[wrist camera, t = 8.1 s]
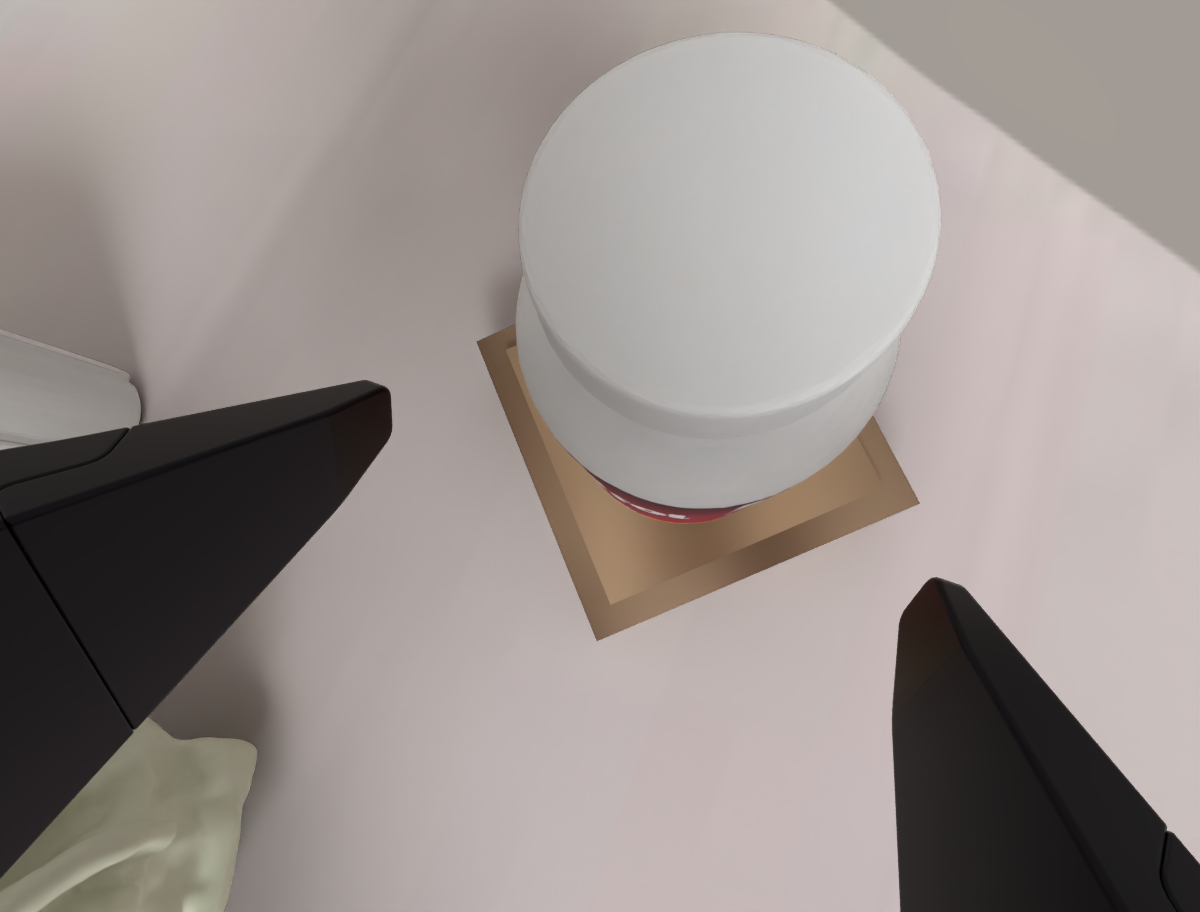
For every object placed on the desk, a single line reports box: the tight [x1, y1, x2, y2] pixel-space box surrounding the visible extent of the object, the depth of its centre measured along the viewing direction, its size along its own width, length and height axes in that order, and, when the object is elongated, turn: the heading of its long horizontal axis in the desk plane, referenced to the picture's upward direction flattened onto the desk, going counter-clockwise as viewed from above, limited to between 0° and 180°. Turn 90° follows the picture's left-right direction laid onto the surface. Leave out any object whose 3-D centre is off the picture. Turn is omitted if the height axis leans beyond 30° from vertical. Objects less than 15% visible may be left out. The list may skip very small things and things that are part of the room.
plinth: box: [477, 324, 920, 641], centre depth 19 cm, size 10×10×3 cm
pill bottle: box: [516, 32, 941, 524], centre depth 12 cm, size 6×6×11 cm
